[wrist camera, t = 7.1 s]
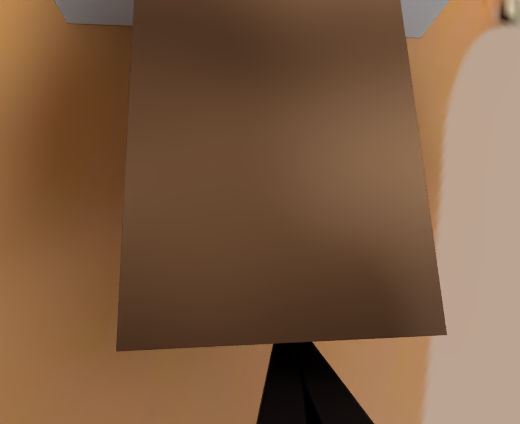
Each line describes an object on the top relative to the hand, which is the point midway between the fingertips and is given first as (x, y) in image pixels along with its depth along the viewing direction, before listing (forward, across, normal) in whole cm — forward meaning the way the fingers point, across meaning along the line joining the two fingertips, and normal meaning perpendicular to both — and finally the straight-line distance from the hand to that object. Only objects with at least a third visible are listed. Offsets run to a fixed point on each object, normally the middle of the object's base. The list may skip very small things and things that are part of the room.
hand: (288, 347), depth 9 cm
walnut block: (+10, 0, -1) cm, 10 cm away
